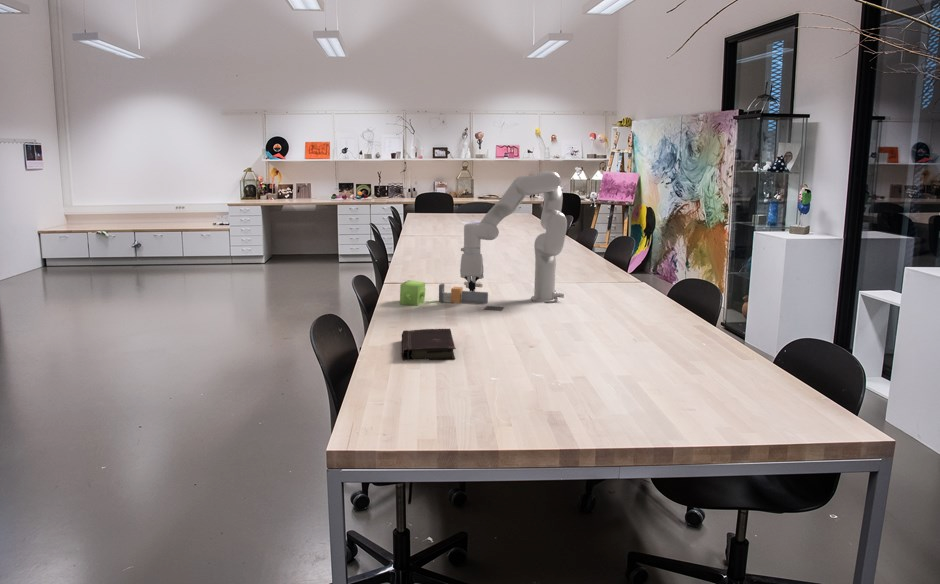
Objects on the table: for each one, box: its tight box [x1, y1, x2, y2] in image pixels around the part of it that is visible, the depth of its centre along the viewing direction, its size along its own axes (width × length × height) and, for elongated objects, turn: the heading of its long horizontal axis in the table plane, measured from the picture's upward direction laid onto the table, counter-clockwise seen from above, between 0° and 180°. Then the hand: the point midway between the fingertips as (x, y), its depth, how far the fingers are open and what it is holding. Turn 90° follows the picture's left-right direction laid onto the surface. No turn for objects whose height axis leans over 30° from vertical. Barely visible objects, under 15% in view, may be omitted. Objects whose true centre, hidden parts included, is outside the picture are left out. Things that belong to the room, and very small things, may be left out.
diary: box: [400, 328, 456, 362], centre depth 246 cm, size 19×25×5 cm
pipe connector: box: [463, 276, 483, 292], centre depth 342 cm, size 10×10×10 cm
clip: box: [450, 286, 464, 304], centre depth 325 cm, size 4×6×6 cm
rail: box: [438, 283, 489, 304], centre depth 324 cm, size 22×5×8 cm, turn 77°
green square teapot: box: [399, 279, 426, 306], centre depth 322 cm, size 18×10×10 cm, turn 165°
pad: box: [482, 305, 505, 312], centre depth 312 cm, size 8×8×1 cm
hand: (471, 290), depth 323 cm, fingers closed
